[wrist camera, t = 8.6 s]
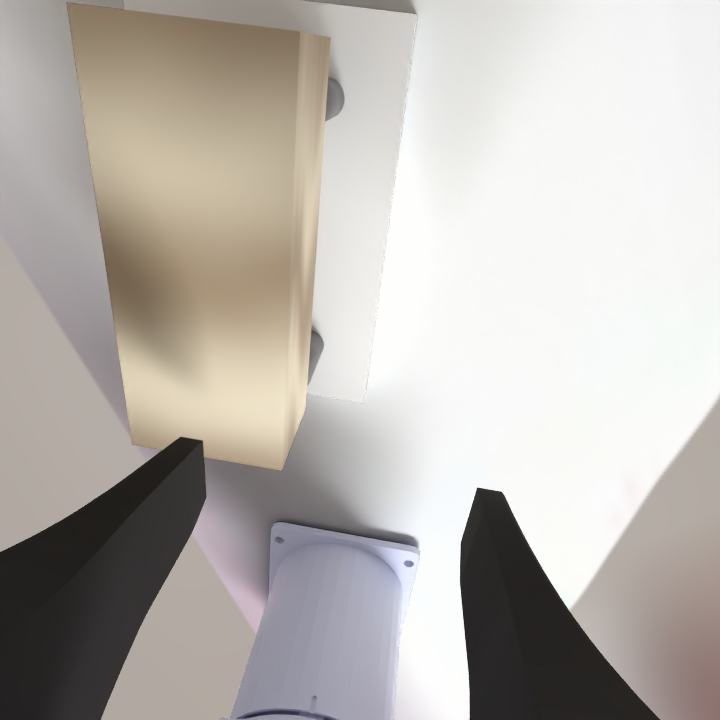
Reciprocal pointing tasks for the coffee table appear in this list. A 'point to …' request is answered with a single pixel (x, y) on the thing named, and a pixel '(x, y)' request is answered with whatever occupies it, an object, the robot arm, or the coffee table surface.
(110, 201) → the beige rectangular block
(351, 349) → the peg stand
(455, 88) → the coffee table surface
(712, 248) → the coffee table surface
